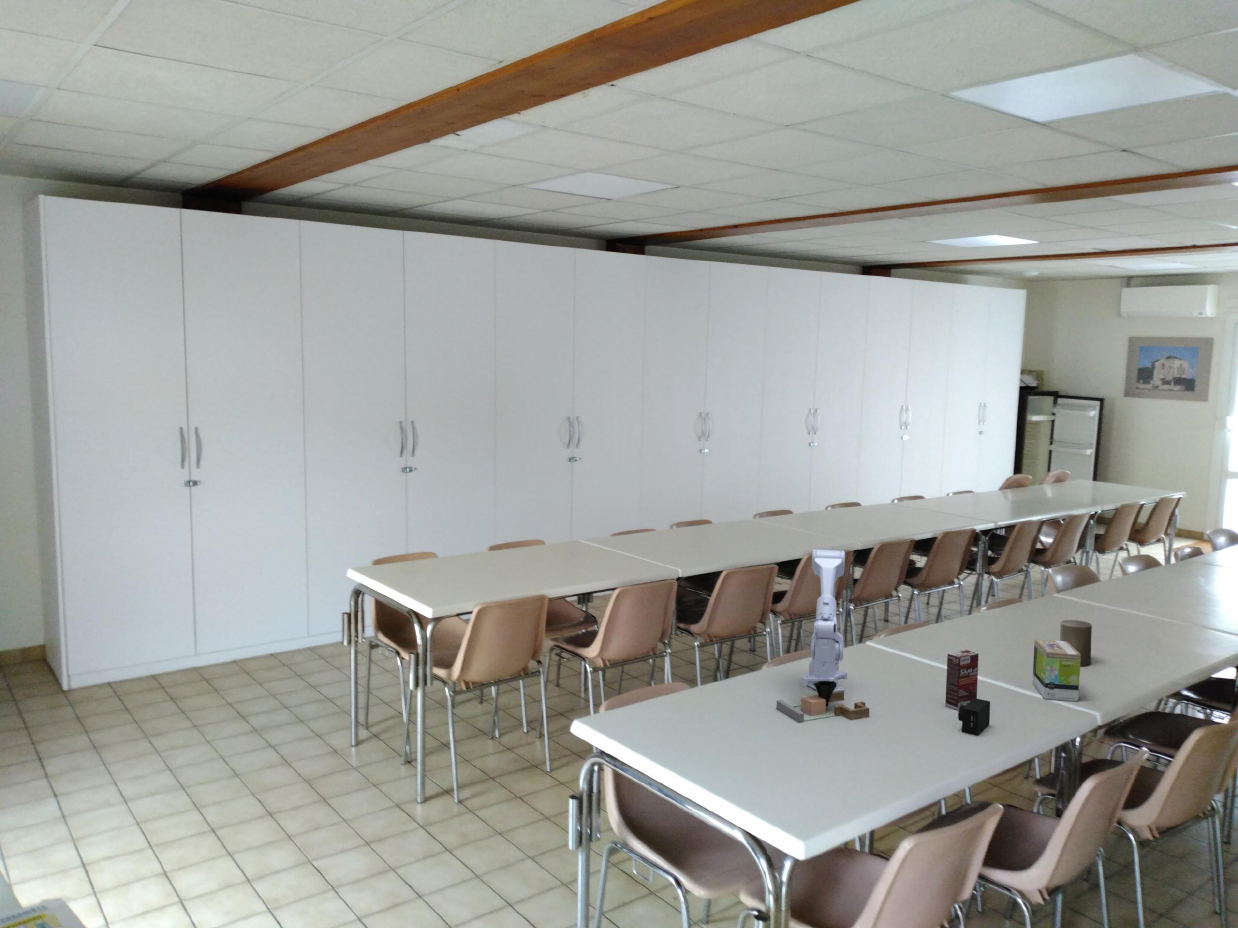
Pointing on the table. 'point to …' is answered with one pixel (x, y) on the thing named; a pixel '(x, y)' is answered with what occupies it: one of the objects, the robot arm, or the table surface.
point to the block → (813, 704)
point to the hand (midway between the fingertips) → (824, 705)
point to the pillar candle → (1078, 638)
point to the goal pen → (795, 712)
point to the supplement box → (961, 678)
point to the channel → (851, 714)
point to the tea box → (1056, 670)
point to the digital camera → (974, 716)
